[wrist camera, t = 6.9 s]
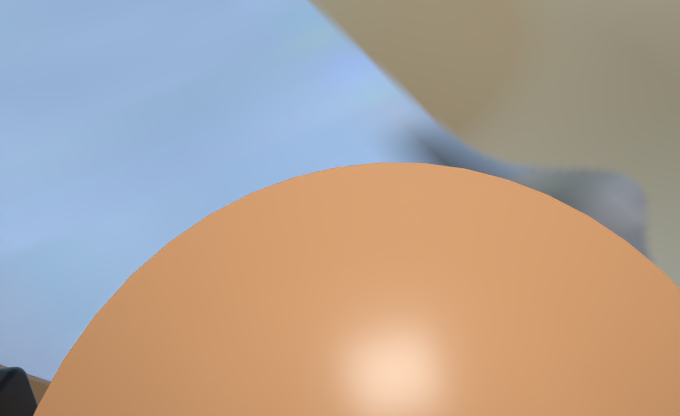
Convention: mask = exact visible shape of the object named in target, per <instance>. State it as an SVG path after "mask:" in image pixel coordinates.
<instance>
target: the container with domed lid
mask: <svg viewBox="0 0 680 416" xmlns="http://www.w3.org/2000/svg"><path fill="white" fill-rule="evenodd" d="M33 416H680V288H679V287H678V286H677V285H676V284H675V283H674V282H673V281H672V280H671V279H670V278H669V277H668V276H667V275H666V274H665V273H664V272H663V271H662V270H660V269H659V268H658V267H657V266H656V265H654V264H653V263H652V262H651V261H650V260H648V259H647V258H646V257H645V256H644V255H642V254H641V253H640V252H639V251H638V250H636V249H635V248H634V247H633V246H632V245H631V244H629V243H628V242H627V241H625V240H624V239H622V238H621V237H619V236H618V235H616V234H615V233H613V232H612V231H610V230H609V229H607V228H606V227H604V226H603V225H601V224H600V223H598V222H597V221H595V220H594V219H592V218H591V217H589V216H587V215H586V214H584V213H582V212H580V211H578V210H576V209H574V208H572V207H570V206H568V205H566V204H564V203H562V202H560V201H559V200H557V199H555V198H553V197H551V196H549V195H546V194H544V193H541V192H539V191H536V190H533V189H531V188H528V187H525V186H523V185H520V184H518V183H515V182H512V181H510V180H507V179H503V178H499V177H495V176H491V175H487V174H484V173H480V172H476V171H472V170H468V169H463V168H455V167H448V166H440V165H432V164H425V163H372V164H363V165H354V166H345V167H336V168H332V169H327V170H323V171H319V172H315V173H311V174H307V175H302V176H298V177H294V178H291V179H288V180H285V181H283V182H280V183H277V184H275V185H272V186H269V187H267V188H264V189H261V190H259V191H256V192H253V193H251V194H249V195H247V196H245V197H243V198H241V199H239V200H237V201H235V202H233V203H231V204H229V205H227V206H226V207H224V208H222V209H220V210H218V211H216V212H214V213H212V214H210V215H208V216H207V217H205V218H204V219H203V220H201V221H200V222H198V223H197V224H195V225H194V226H192V227H191V228H189V229H188V230H186V231H185V232H184V233H182V234H181V235H179V236H178V237H176V238H175V239H173V240H172V241H170V242H169V243H168V244H167V245H166V246H164V247H163V248H162V249H161V250H160V251H159V252H158V253H156V254H155V255H154V256H153V257H152V258H151V259H150V260H148V261H147V262H146V263H145V264H144V265H143V266H142V267H140V268H139V269H138V270H137V271H136V272H135V273H133V274H132V275H131V276H130V277H129V279H128V280H127V281H126V282H125V283H124V284H123V285H122V286H121V287H120V288H119V290H118V291H117V292H116V293H115V294H114V295H113V296H112V297H111V298H110V300H109V301H108V302H107V303H106V304H105V305H104V306H103V307H102V308H101V309H100V311H99V312H98V313H97V314H96V315H95V317H94V318H93V319H92V321H91V322H90V324H89V325H88V326H87V328H86V329H85V331H84V332H83V333H82V335H81V336H80V338H79V339H78V340H77V342H76V343H75V345H74V346H73V347H72V349H71V350H70V352H69V353H68V354H67V356H66V357H65V359H64V360H63V362H62V364H61V365H60V367H59V369H58V371H57V373H56V374H55V376H54V378H53V380H52V382H51V383H50V385H49V387H48V389H47V391H46V392H45V394H44V396H43V398H42V400H41V401H40V403H39V405H38V407H37V409H36V411H35V413H34V415H33Z"/></svg>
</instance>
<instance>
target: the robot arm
mask: <svg viewBox="0 0 680 416" xmlns="http://www.w3.org/2000/svg"><path fill="white" fill-rule="evenodd" d="M37 407H38V404H37V401H36V399H35V396H34V393H33V390H32V387H31V385H30V382H29V379H28V376H27V374H26V372H25V371H24V370H23V369H22V368H19V367H8V368H0V416H33V415H34V413H35V411H36V409H37Z"/></svg>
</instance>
